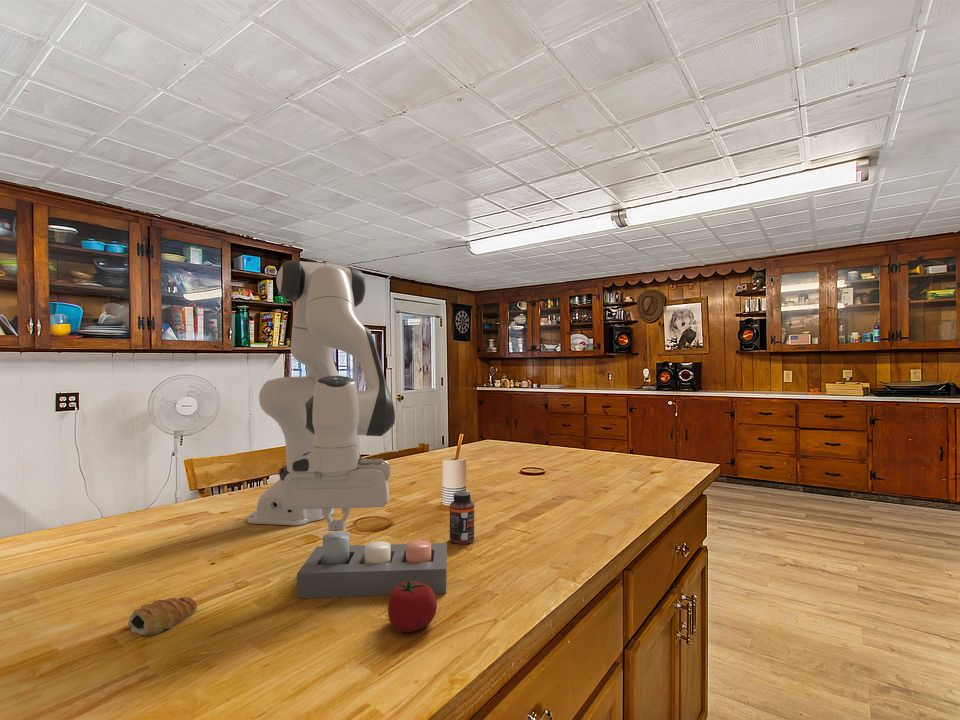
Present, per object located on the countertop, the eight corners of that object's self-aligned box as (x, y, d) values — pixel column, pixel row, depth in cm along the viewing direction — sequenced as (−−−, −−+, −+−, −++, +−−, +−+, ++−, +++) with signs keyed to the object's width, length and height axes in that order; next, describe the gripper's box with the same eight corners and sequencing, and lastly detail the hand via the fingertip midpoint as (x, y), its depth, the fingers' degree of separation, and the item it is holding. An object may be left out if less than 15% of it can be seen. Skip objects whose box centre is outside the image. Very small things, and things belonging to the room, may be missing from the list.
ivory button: (362, 582, 93) (362, 551, 93) (367, 571, 98) (366, 541, 98) (388, 581, 93) (388, 550, 93) (392, 570, 98) (391, 541, 98)
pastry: (182, 605, 86) (182, 583, 86) (206, 614, 83) (206, 592, 83) (123, 630, 78) (124, 607, 78) (147, 642, 75) (147, 617, 75)
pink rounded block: (404, 581, 93) (404, 550, 93) (407, 570, 98) (406, 540, 98) (430, 580, 94) (430, 549, 94) (431, 569, 98) (431, 539, 99)
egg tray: (297, 598, 88) (297, 573, 88) (316, 568, 101) (316, 546, 101) (446, 593, 90) (446, 568, 90) (446, 564, 103) (446, 542, 103)
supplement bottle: (471, 546, 113) (471, 497, 113) (446, 544, 114) (446, 496, 114) (476, 537, 119) (476, 490, 119) (453, 535, 120) (453, 489, 120)
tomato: (393, 644, 74) (392, 596, 74) (381, 618, 81) (381, 575, 81) (442, 632, 77) (442, 586, 77) (427, 609, 84) (427, 567, 84)
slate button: (319, 572, 92) (319, 541, 92) (326, 562, 97) (326, 532, 97) (346, 572, 93) (346, 540, 93) (351, 561, 98) (351, 531, 98)
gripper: (391, 455, 99) (392, 523, 99) (289, 457, 98) (289, 526, 97) (387, 461, 93) (388, 534, 92) (278, 463, 91) (278, 537, 91)
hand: (336, 530), depth 95 cm, fingers closed
